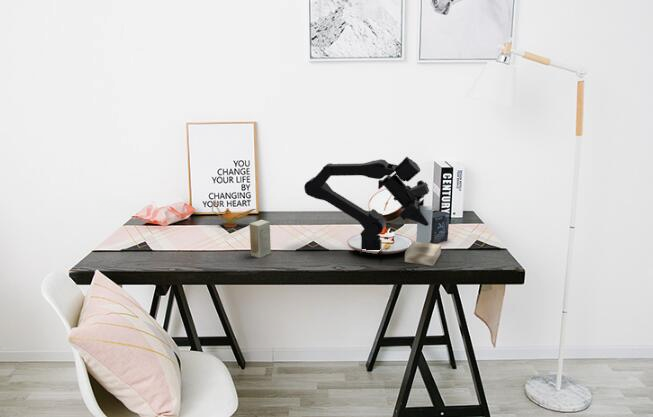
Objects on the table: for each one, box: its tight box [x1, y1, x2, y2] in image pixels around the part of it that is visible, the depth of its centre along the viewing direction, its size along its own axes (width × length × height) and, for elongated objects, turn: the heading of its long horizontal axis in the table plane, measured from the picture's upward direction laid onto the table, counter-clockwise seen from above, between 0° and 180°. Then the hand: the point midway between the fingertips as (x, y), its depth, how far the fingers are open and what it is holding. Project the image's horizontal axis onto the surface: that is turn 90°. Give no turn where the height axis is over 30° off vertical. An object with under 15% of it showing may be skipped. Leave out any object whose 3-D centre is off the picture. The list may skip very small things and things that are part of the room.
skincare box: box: [249, 219, 272, 259], centre depth 220 cm, size 6×4×12 cm
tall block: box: [416, 205, 434, 243], centre depth 215 cm, size 4×4×12 cm
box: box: [430, 210, 450, 244], centre depth 235 cm, size 8×6×11 cm
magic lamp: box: [211, 199, 257, 228], centre depth 252 cm, size 7×18×11 cm, turn 94°
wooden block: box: [404, 240, 442, 267], centre depth 219 cm, size 10×12×4 cm
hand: (428, 223), depth 215 cm, fingers closed on tall block, 4 cm apart
